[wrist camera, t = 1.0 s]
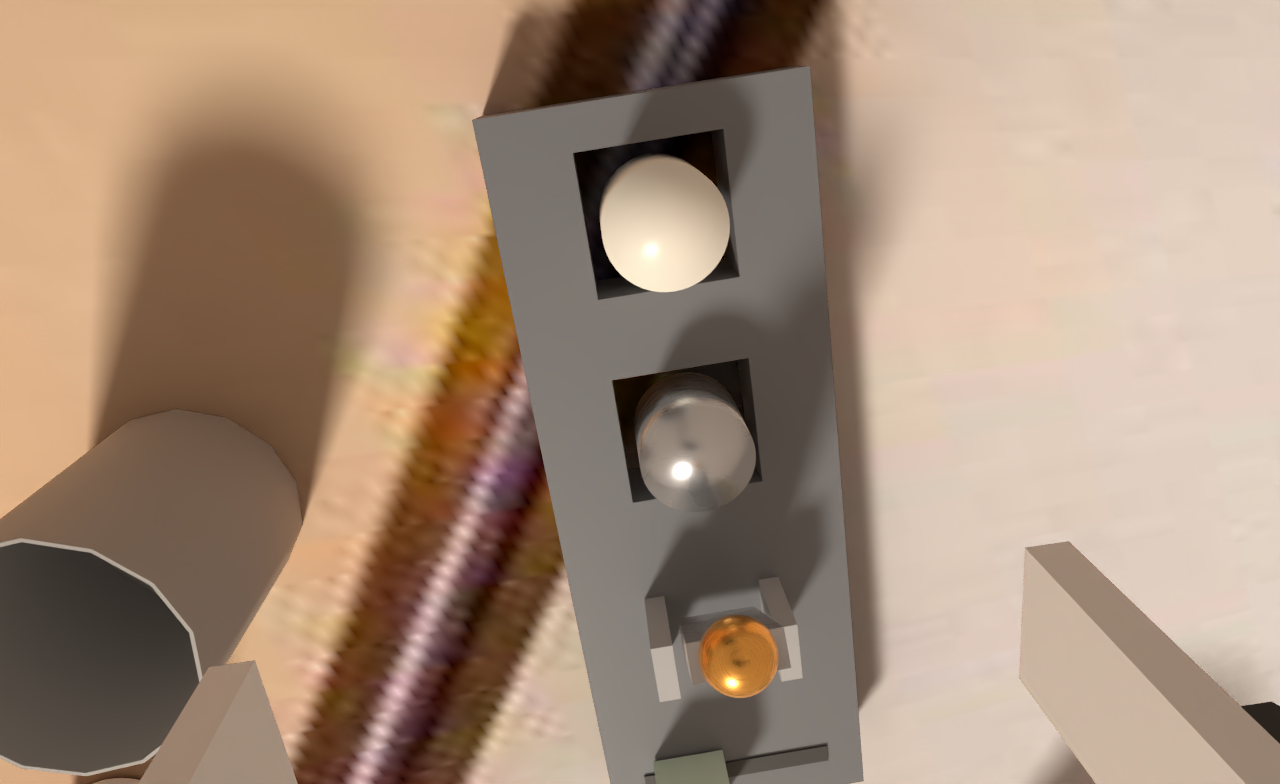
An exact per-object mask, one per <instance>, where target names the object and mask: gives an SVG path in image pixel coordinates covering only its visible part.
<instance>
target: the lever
mask: <svg viewBox="0 0 1280 784" xmlns="http://www.w3.org/2000/svg"><path fill="white" fill-rule="evenodd" d="M678 621H679V627H680V633H681V639H682V645H683V650H684V654H685V658H686V662H687V666H688V669H689V673H690V677H691V681H692V685H693V684H699V683H705V682H708V683H709V684H710V685H711V686H712V687H713V688H714V689H715V690H716V691H718V692H720V693H721V694H723V695H726V696H729V697H733V698H747V697H751V696H754V695H756V694H758V693H760V692H761V691H763V690H764V689H765V688H766V687H767V686H768V685H769V684H770V683H771V681H772V680H773V678H774V676H775V674H776V672H777V670H782V669H788V668H791V663H790V658H789V652H788V647H787V642H786V636H785V631H784V627H783V626H781V625H780V624H779V623H777V622H776V621H774V620H773V619H771V618H770V617H768V616H767V615H766V614H764V613H763V612H761V611H760V610H758V609H757V608H755V607H754V606H751V607H745V608H740V609H734V610H728V611H722V612H716V613H710V614H704V615H698V616H692V617H686V618H680V619H678Z"/></svg>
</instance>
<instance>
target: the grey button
mask: <svg viewBox="0 0 1280 784" xmlns="http://www.w3.org/2000/svg"><path fill="white" fill-rule="evenodd" d="M634 432H635V438H636V445H637V451H638V457H639V464H640V470H641V474H642V478H643V480H644V483H645V485H646V486H647V488H648V490H649V491H650V492H651V493H652V495H653V496H654V497H655V498H656V499H658V500H659V501H660V502H662V503H663V504H665V505H667V506H668V507H671V508H673V509H676V510H679V511H683V512H696V513H698V512H706V511H711V510H714V509H717V508H720V507H722V506H724V505H726V504H728V503H729V502H731V501H732V500H733V499H735V498H736V497H737V496H738V495H739V494H740V493H741V492H742V491H743V490H744V489H745V487H746V486H747V484H748V483H749V481H750V479H751V477H752V474H753V472H754V468H755V462H756V450H755V445H754V442H753V439H752V436H751V434H750V432H749V430H748V428H747V426H746V424H745V422H744V420H743V418H742V416H741V414H740V412H739V409H738V407H737V405H736V403H735V401H734V399H733V397H732V395H731V394H730V393H729V391H728V390H727V389H726V388H725V387H724V386H723V385H722V384H721V383H719V382H718V381H716V380H715V379H713V378H711V377H709V376H706V375H703V374H699V373H678V374H673V375H670V376H668V377H665V378H663V379H661V380H659V381H658V382H656V383H655V384H653V385H652V386H651V387H650V388H649V389H648V390H647V391H646V392H645V393H644V395H643V396H642V398H641V399H640V401H639V403H638V405H637V408H636V411H635V415H634Z"/></svg>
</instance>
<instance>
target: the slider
mask: <svg viewBox="0 0 1280 784" xmlns="http://www.w3.org/2000/svg"><path fill="white" fill-rule="evenodd" d="M653 763H654V772H655V781H656V784H730V783H729V778H728V773H727V769H726V764H725V759H724V755H723V750H719V751H713V752H707V753H701V754H695V755H689V756H683V757H678V758H672V759H666V760H660V761H654V762H653Z"/></svg>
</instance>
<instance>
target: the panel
mask: <svg viewBox="0 0 1280 784" xmlns="http://www.w3.org/2000/svg"><path fill="white" fill-rule="evenodd" d="M472 122H473V126H474V131H475V136H476V141H477V146H478V150H479V155H480V160H481V165H482V170H483V174H484V179H485V184H486V189H487V193H488V198H489V203H490V208H491V213H492V217H493V222H494V227H495V232H496V237H497V241H498V246H499V251H500V256H501V261H502V265H503V270H504V275H505V280H506V285H507V289H508V294H509V299H510V304H511V309H512V313H513V318H514V323H515V328H516V333H517V337H518V342H519V347H520V352H521V356H522V361H523V366H524V371H525V376H526V380H527V385H528V390H529V395H530V400H531V404H532V409H533V414H534V419H535V424H536V428H537V433H538V438H539V443H540V448H541V452H542V457H543V462H544V467H545V472H546V476H547V481H548V486H549V491H550V496H551V500H552V505H553V510H554V515H555V519H556V524H557V529H558V534H559V539H560V543H561V548H562V553H563V558H564V563H565V567H566V572H567V577H568V582H569V587H570V591H571V596H572V601H573V606H574V611H575V615H576V620H577V625H578V630H579V635H580V639H581V644H582V649H583V654H584V659H585V663H586V668H587V673H588V678H589V683H590V687H591V692H592V697H593V702H594V706H595V711H596V716H597V721H598V726H599V730H600V735H601V740H602V745H603V750H604V754H605V759H606V764H607V769H608V774H609V778H610V783H611V784H656V781H655V772H654V763H653V762H654V761H660V760H666V759H672V758H678V757H683V756H689V755H695V754H701V753H707V752H713V751H719V750H723V755H724V759H725V764H726V769H727V773H728V778H729V783H730V784H850V783H855V782H861V781H864V780H863V767H862V753H861V740H860V727H859V713H858V700H857V687H856V673H855V660H854V647H853V633H852V620H851V607H850V593H849V580H848V567H847V553H846V540H845V527H844V513H843V500H842V487H841V473H840V460H839V447H838V433H837V420H836V407H835V393H834V380H833V367H832V353H831V340H830V327H829V313H828V300H827V287H826V273H825V260H824V247H823V233H822V220H821V207H820V193H819V180H818V167H817V153H816V140H815V127H814V113H813V100H812V87H811V73H810V66H796V67H785V68H778V69H772V70H766V71H760V72H753V73H747V74H741V75H735V76H728V77H722V78H716V79H710V80H703V81H697V82H691V83H685V84H679V85H672V86H666V87H660V88H654V89H647V90H641V91H635V92H629V93H622V94H616V95H610V96H604V97H597V98H591V99H585V100H579V101H572V102H566V103H560V104H554V105H548V106H541V107H535V108H529V109H523V110H516V111H510V112H504V113H498V114H491V115H485V116H481V117H478V118H476V119H474V120H472ZM706 131H711V134H712V143H713V152H714V160H715V169H716V178H717V186H718V190H719V191H720V193H721V194H722V196H723V198H724V200H725V203H726V206H727V209H728V213H729V219H730V232H729V239H728V244H727V247H726V250H725V255H726V260H722V261H720V262H719V263H718V265H717V266H716V267H715V268H714V270H713V271H712V272H711V273H710V274H709V275H708V276H707V277H705V278H704V279H703V280H701V281H700V282H698V283H697V284H695V285H693V286H691V287H688V288H686V289H683V290H679V291H674V292H655V291H650V290H646V289H643V288H641V287H638V286H636V285H634V284H633V283H631V282H629V281H628V280H627V279H625V278H624V277H617V278H611V279H605V280H599V281H596V276H595V270H594V265H593V259H592V253H591V247H590V241H589V235H588V229H587V224H586V218H585V212H584V206H583V200H582V194H581V188H580V183H579V177H578V171H577V165H576V159H575V153H576V152H582V151H588V150H594V149H601V148H607V147H613V146H619V145H625V144H632V143H638V142H644V141H650V140H657V139H663V138H669V137H675V136H681V135H688V134H694V133H700V132H706ZM733 360H738V368H739V376H740V385H741V394H742V402H743V411H744V420H745V424H746V426H747V428H748V430H749V432H750V434H751V436H752V439H753V442H754V445H755V450H756V462H755V468H754V472H753V474H752V477H751V479H750V481H749V483H748V484H747V486H746V487H745V489H744V490H743V491H742V492H741V493H740V494H739V495H738V496H737V497H736V498H735V499H733V500H732V501H731V502H729V503H728V504H726V505H724V506H722V507H720V508H717V509H714V510H711V511H706V512H698V513H696V512H683V511H679V510H676V509H673V508H671V507H668V506H667V505H665V504H663V503H662V502H660V501H659V500H658V499H656V498H655V497H654V496H653V495H652V493H651V492H650V491H649V490H648V488H647V486H646V485H645V483H644V480H643V478H642V474H641V470H640V467H639V468H633V469H628V464H627V458H626V452H625V446H624V440H623V434H622V428H621V423H620V417H619V411H618V405H617V399H616V393H615V387H614V382H613V380H618V379H624V378H630V377H636V376H642V375H648V374H654V373H660V372H666V371H672V370H679V369H685V368H691V367H697V366H703V365H709V364H715V363H721V362H727V361H733ZM751 606H754V607H755V608H757V609H758V610H760V611H761V612H763V613H764V614H766V615H767V616H768V617H770V618H771V619H773V620H774V621H776V622H777V623H779V624H780V625H781V626H783V627H784V631H785V636H786V642H787V647H788V652H789V658H790V663H791V668H788V669H782V670H777V672H776V674H775V676H774V678H773V680H772V681H771V683H770V684H769V685H768V686H767V687H766V688H765V689H764V690H763V691H761V692H760V693H758V694H756V695H754V696H751V697H747V698H733V697H729V696H726V695H723V694H721V693H720V692H718V691H716V690H715V689H714V688H713V687H712V686H711V685H710V684H709V683H708V682H705V683H699V684H693V685H692V681H691V677H690V673H689V669H688V666H687V662H686V658H685V654H684V650H683V645H682V639H681V633H680V627H679V621H678V619H680V618H686V617H692V616H698V615H704V614H710V613H716V612H722V611H728V610H734V609H740V608H745V607H751Z"/></svg>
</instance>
